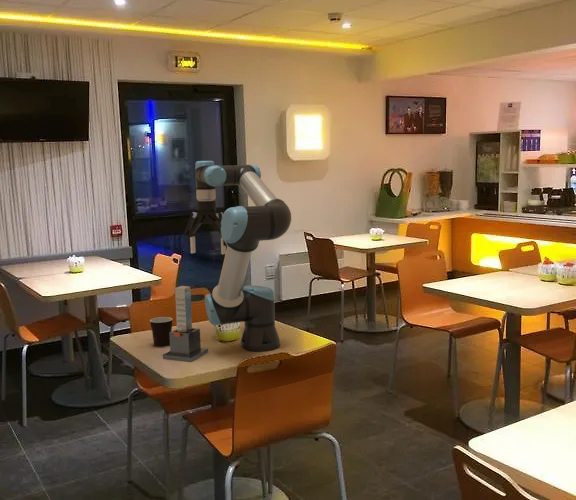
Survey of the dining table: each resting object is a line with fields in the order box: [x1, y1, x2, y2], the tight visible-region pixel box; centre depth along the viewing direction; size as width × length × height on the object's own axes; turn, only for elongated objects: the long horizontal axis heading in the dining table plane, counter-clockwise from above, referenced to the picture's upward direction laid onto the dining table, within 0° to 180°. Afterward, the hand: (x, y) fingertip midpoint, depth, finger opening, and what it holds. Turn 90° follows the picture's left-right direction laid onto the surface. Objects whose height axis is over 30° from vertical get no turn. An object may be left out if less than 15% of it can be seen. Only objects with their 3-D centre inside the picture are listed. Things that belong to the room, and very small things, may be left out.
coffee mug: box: [149, 316, 173, 348], centre depth 244 cm, size 12×9×10 cm
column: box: [174, 285, 193, 333], centre depth 226 cm, size 4×4×18 cm
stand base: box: [162, 327, 209, 363], centre depth 228 cm, size 12×12×10 cm
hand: (208, 253), depth 247 cm, fingers open, 13 cm apart
